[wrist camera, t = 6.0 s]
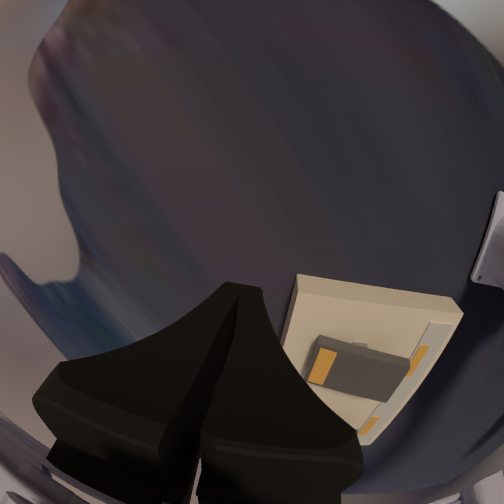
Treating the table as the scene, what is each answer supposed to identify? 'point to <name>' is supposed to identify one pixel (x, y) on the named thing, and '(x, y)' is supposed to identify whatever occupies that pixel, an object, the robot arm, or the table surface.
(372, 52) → the table surface
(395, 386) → the block
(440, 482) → the table surface
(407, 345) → the switch console
